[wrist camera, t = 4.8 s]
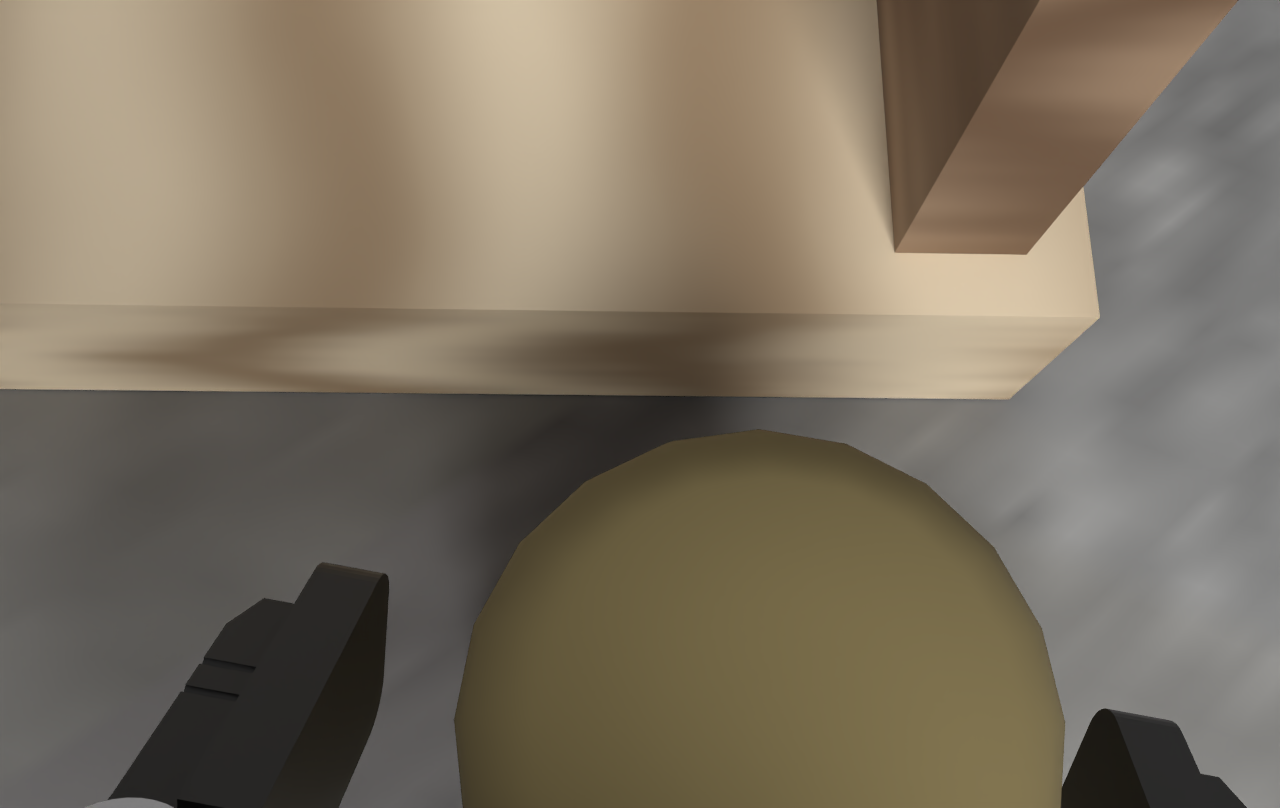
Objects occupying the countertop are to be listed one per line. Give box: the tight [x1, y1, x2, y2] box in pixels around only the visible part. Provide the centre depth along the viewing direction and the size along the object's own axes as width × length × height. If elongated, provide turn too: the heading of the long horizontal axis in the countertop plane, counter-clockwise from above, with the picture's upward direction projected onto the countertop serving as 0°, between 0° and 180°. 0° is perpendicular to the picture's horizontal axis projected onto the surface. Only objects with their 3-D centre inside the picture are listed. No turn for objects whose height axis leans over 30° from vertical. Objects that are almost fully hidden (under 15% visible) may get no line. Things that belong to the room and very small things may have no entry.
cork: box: [454, 429, 1065, 808], centre depth 14 cm, size 6×6×11 cm
